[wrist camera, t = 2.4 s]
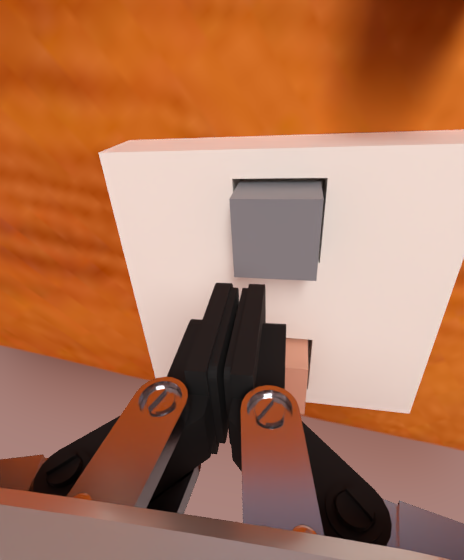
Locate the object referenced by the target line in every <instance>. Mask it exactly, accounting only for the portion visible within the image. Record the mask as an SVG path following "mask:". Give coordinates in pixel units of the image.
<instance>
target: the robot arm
mask: <svg viewBox="0 0 464 560" xmlns="http://www.w3.org/2000/svg"><path fill="white" fill-rule="evenodd" d="M285 358H286V324H275V323H266V290H265V284H249V286H248V288H242V292H241V297H240V301H239V289H238V288H234V287H233V284H232V283H216V284H215V286H214V289H213V292H212V294H211V297H210V300H209V303H208V306H207V308H206V311H205V314H204V317H203V319H202V320H200V319H191V320H190V322H189V324H188V326H187V328H186V331H185V333H184V336H183V338H182V341H181V343H180V345H179V348H178V350H177V353H176V355H175V358H174V360H173V363H172V365H171V367H170V370H169V372H168V375H167V377H160V378H156V379H153V380H151V381H148V382H147V383H146V384H144V385H143V386H141V388H140V389H139V390H138V391H137V392H136V393H135V395H134V396H133V398H132V399H131V401H130V402H129V404H128V406H127V407H126V408H125V410H124V411H123V413H122V414H121V416H119V417H117V418H115V419H114V420H112V421H110V422H108V423H106V424H105V425H103V426H101V427H99V428H98V429H96V430H94V431H92V432H90V433H89V434H87V435H86V436H84V437H82V438H80V439H78V440H76V441H75V442H73V443H71V444H69V445H67V446H66V447H64V448H62V449H60V450H59V451H57V452H56V453H54V454H53V455H52V456H50V457H49V458H45V457H44V455H34V456H26V457H17V458H9V459H0V560H464V524H463V523H460V522H458V521H455V520H452V519H449V518H446V517H443V516H441V515H438V514H435V513H432V512H430V511H427V510H424V509H421V508H419V507H416V506H413V505H410V504H407V503H405V502H402V501H399V503H398V504H395V503H392V502H390V501H387V500H384V499H382V498H381V497H380V496H379V494H377V492H376V491H375V490H374V489H373V488H372V487H371V486H370V485H369V484H368V483H367V482H366V481H365V480H364V479H363V478H361V477H360V476H359V475H358V474H357V473H356V472H355V471H354V470H353V469H352V468H351V467H350V466H349V465H347V464H346V462H345V461H343V460H342V459H341V458H340V457H339V456H338V455H337V454H336V453H335V452H334V451H333V450H332V449H331V448H330V447H329V446H327V445H326V444H325V443H324V442H323V441H322V440H321V439H320V438H319V437H318V436H317V435H316V434H315V433H314V432H313V431H311V429H310V428H308V427H307V426H306V425H305V424H304V423H303V422H302V420H301V415H300V410H299V406H298V403H297V401H296V399H295V398H294V397H293V396H292V394H291V393H289V392H288V391H286V390H285ZM228 428H229V438H230V444H231V448H232V458H233V461H234V462H235V463H236V465H237V466H238V467H239V469H240V470H241V471H242V500H243V523H238V522H232V521H226V520H219V519H212V518H206V517H199V516H192V515H186V514H184V511H185V509H186V507H187V504H188V501H189V499H190V496H191V494H192V491H193V488H194V486H195V483H196V481H197V478H198V475H199V472H200V468H201V463H203V462H204V461H206V460H207V459H208V458H210V456H211V454H217V452H218V447H219V443H225V442H226V438H227V432H228Z"/></svg>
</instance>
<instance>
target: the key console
mask: <svg viewBox="0 0 464 560" xmlns="http://www.w3.org/2000/svg"><path fill="white" fill-rule="evenodd" d="M99 157H100V161H101V165H102V169H103V173H104V176H105V180H106V184H107V188H108V192H109V196H110V200H111V204H112V208H113V212H114V216H115V220H116V224H117V228H118V232H119V236H120V240H121V244H122V248H123V251H124V255H125V259H126V263H127V267H128V271H129V275H130V279H131V283H132V287H133V291H134V295H135V299H136V303H137V307H138V311H139V315H140V319H141V323H142V326H143V330H144V334H145V338H146V342H147V346H148V350H149V354H150V358H151V362H152V366H153V370H154V374H155V378H160V377H167V375H168V372H169V370H170V367H171V365H172V363H173V360H174V358H175V355H176V353H177V350H178V348H179V345H180V343H181V341H182V338H183V336H184V333H185V331H186V328H187V326H188V324H189V322H190V320H191V319H200V320H202V319H203V317H204V314H205V311H206V308H207V306H208V303H209V300H210V297H211V294H212V292H213V289H214V286H215V284H216V283H232V284H233V287H234V288H238V289H239V301H240V297H241V292H242V288H248V286H249V284H265V290H266V323H275V324H286V338H295V339H308V379H307V390H306V401H305V402H310V403H319V404H328V405H337V406H346V407H355V408H364V409H373V410H382V411H391V412H400V413H410V410H411V407H412V405H413V402H414V399H415V396H416V393H417V390H418V387H419V385H420V382H421V379H422V376H423V373H424V370H425V367H426V364H427V362H428V359H429V356H430V353H431V350H432V347H433V344H434V341H435V339H436V336H437V333H438V330H439V327H440V324H441V321H442V318H443V316H444V313H445V310H446V307H447V304H448V301H449V298H450V295H451V293H452V290H453V287H454V284H455V281H456V278H457V275H458V273H459V270H460V267H461V264H462V261H463V258H464V130H436V131H404V132H372V133H341V134H309V135H277V136H246V137H214V138H182V139H151V140H129V141H126V142H124V143H121V144H119V145H116V146H114V147H111V148H109V149H106V150H104V151H102V152H99ZM271 181H321V185H322V192H323V198H324V202H323V213H322V224H321V235H320V246H319V257H318V268H317V279H316V281H305V280H283V279H262V278H240V277H234V267H233V250H232V234H231V218H230V202H229V199H230V197H231V195H232V194H233V192H234V190H235V188H236V187H237V185H238V183H239V182H271Z"/></svg>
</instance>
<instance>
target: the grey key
mask: <svg viewBox="0 0 464 560" xmlns="http://www.w3.org/2000/svg"><path fill="white" fill-rule="evenodd" d="M229 202H230V218H231V234H232V250H233V267H234V277H240V278H262V279H283V280H305V281H316V279H317V268H318V257H319V246H320V235H321V224H322V213H323V202H324V198H323V192H322V185H321V181H271V182H239V183H238V185H237V187H236V188H235V190H234V192H233V194H232V195H231V197H230V199H229Z"/></svg>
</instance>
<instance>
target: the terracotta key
mask: <svg viewBox="0 0 464 560" xmlns="http://www.w3.org/2000/svg"><path fill="white" fill-rule="evenodd" d="M307 379H308V339H295V338H286V358H285V390H286V391H288V392H289V393H291V394H292V396H293V397H294V398H295V399H296V401H297V403H298V406H299V410H300V414H304V412H305V401H306V390H307Z"/></svg>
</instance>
